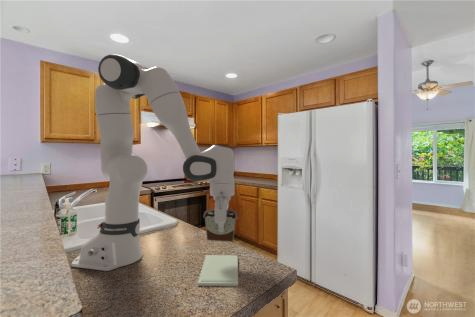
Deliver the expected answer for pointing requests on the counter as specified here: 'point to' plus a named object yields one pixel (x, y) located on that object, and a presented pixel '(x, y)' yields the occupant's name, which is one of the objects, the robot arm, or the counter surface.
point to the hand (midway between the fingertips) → (222, 228)
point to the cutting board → (219, 271)
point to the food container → (213, 227)
